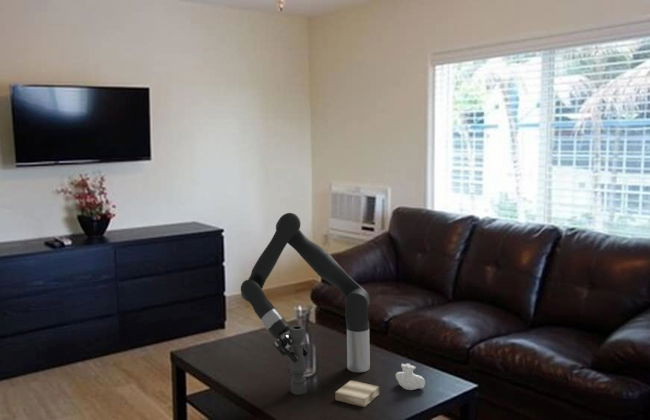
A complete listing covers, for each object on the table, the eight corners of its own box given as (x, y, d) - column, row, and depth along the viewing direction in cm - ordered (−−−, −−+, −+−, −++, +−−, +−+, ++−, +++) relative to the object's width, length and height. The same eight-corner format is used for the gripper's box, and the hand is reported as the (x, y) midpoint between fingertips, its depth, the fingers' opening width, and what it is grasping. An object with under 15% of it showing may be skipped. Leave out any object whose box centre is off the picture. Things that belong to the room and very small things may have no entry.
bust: (395, 390, 230) (387, 375, 223) (401, 373, 235) (393, 357, 228) (424, 397, 224) (416, 381, 217) (430, 379, 228) (423, 363, 221)
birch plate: (350, 387, 228) (350, 380, 228) (379, 394, 222) (379, 386, 222) (335, 399, 218) (335, 392, 218) (364, 407, 212) (364, 399, 212)
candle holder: (292, 395, 222) (290, 331, 219) (289, 388, 228) (287, 326, 225) (308, 393, 224) (307, 329, 221) (304, 386, 230) (303, 324, 227)
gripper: (280, 323, 236) (306, 357, 231) (258, 334, 224) (285, 370, 219) (291, 312, 232) (317, 346, 228) (269, 323, 220) (297, 359, 216)
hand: (301, 358), depth 224 cm, fingers open, 6 cm apart
